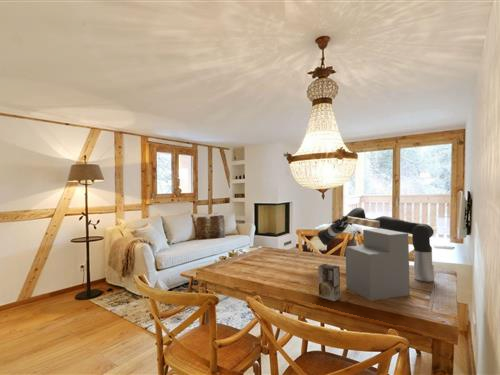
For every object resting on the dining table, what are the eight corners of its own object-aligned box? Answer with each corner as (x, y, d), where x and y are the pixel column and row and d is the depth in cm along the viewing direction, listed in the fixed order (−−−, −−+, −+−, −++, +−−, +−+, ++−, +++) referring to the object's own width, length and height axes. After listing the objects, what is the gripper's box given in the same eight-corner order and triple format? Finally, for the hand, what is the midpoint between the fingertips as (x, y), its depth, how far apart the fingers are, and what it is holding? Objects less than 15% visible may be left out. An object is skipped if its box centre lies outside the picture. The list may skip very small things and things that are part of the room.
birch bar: (342, 221, 168) (342, 215, 168) (347, 221, 169) (346, 215, 169) (374, 227, 141) (374, 221, 141) (379, 227, 142) (379, 220, 142)
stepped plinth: (346, 287, 157) (345, 230, 157) (381, 282, 163) (380, 228, 164) (370, 300, 138) (369, 236, 138) (409, 295, 144) (408, 233, 144)
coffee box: (340, 298, 142) (340, 266, 142) (334, 301, 138) (333, 269, 138) (324, 293, 149) (324, 263, 149) (318, 296, 144) (317, 265, 144)
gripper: (347, 233, 178) (362, 222, 164) (327, 234, 174) (341, 223, 160) (343, 222, 182) (358, 211, 167) (324, 223, 178) (337, 212, 163)
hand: (350, 217), depth 164 cm, fingers closed on birch bar, 3 cm apart
